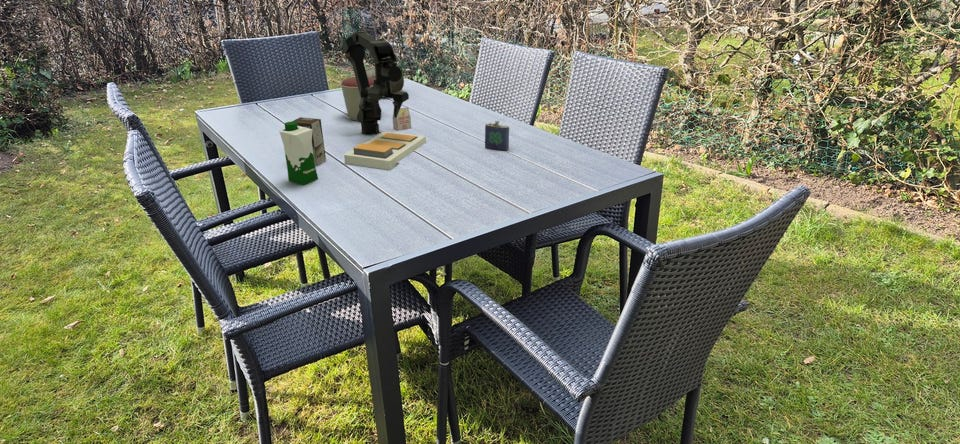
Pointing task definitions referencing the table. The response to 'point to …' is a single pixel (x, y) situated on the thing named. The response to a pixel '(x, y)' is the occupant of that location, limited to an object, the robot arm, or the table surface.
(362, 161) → the cream board with panels
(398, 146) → the orange drawer
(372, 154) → the switch
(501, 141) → the flask
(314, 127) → the coffee box
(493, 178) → the table surface
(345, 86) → the canister
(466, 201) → the table surface
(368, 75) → the gourd
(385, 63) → the robot arm
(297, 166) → the milk carton
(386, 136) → the orange cabinet drawer
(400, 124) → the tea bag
